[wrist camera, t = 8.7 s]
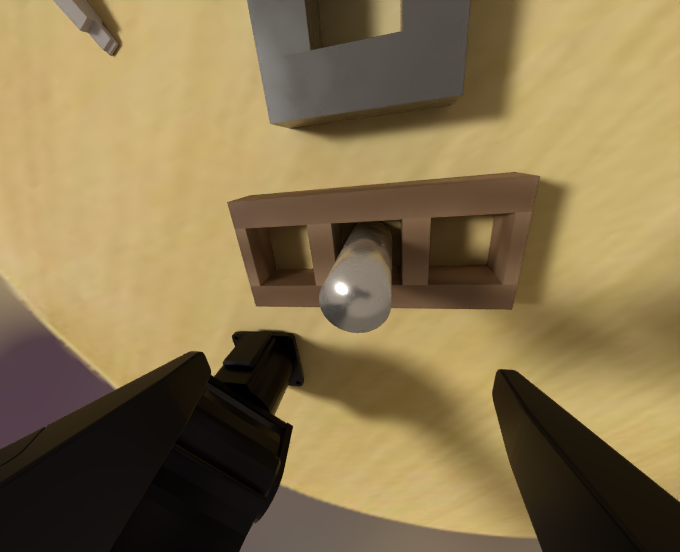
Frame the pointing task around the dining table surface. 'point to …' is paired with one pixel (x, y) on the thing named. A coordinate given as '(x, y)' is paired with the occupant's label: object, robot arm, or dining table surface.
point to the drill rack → (415, 213)
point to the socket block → (358, 62)
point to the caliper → (88, 22)
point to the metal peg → (360, 280)
